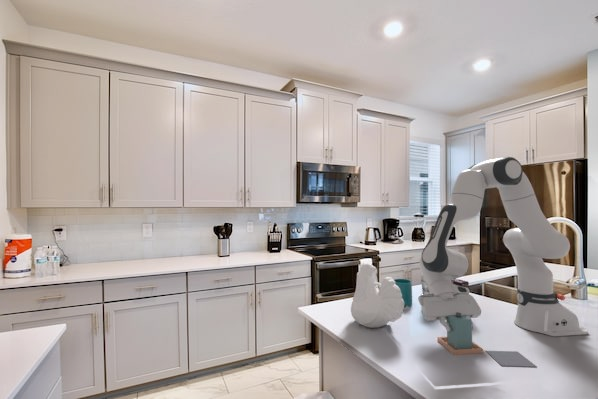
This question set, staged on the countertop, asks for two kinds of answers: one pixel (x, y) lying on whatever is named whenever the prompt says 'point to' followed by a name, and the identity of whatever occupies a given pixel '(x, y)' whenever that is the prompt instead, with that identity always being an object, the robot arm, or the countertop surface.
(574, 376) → the countertop surface
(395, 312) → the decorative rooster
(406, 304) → the cup
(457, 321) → the cover
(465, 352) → the dish
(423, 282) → the metal bottle
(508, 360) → the mat
